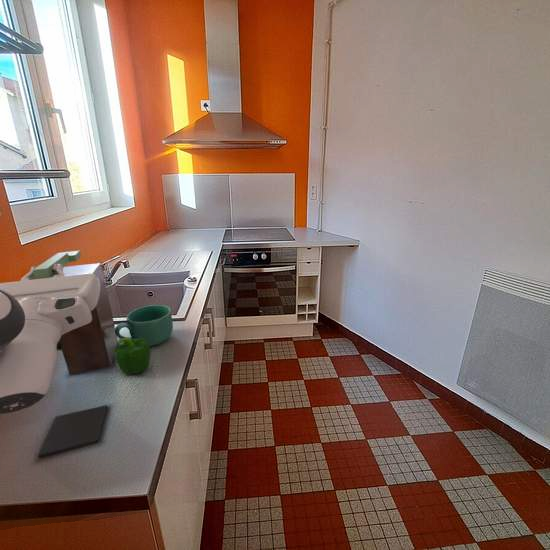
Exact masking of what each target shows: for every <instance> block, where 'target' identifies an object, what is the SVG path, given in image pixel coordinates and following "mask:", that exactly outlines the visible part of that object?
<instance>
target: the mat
mask: <svg viewBox="0 0 550 550" xmlns="http://www.w3.org/2000/svg"><path fill="white" fill-rule="evenodd" d="M107 410H108V405H107V404H106V405H101V406H96V407H93V408H89V409H84V410H79V411H75V412H71V413H67V414H62V415H58V416H55V418H54V419H53V422H52V425H51V427H50V429H49V431H48V433H47V435H46V437H45V439H44V442H43V444H42V446H41V448H40V451H39V452H38V455H37V457H38V458H43V457H47V456H50V455H54V454H58V453H62V452H67V451H69V450H73V449H77V448H81V447H85V446H89V445H92V444H96V443H99V441H100V438H101V434H102V429H103V426H104V421H105V418H106V414H107Z"/></svg>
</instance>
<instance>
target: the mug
mask: <svg viewBox="0 0 550 550" xmlns="http://www.w3.org/2000/svg"><path fill="white" fill-rule="evenodd" d="M173 324H174V323H173V316H172V310H171V308H170V307H169V306H168V305H164V304H163V305H162V304H151V305H145V306H142V307H138V308H135V309H134V310H132V311H130V312H129V313H128V314H127V315H126V322H120V323H119V324H117V325H116V326H115V334H116V336H117V338H118V339H119V340H120V339H122V338H128V339H137V338H140V337H142V338H143V339H144V340H145V341H146V342H147V343H148V344H149V347H151V346H157V345H159V344H161V343H163V342H165V341H166V340H167V339H168V338H170V337H171V335H172V333H173V330H174V325H173ZM123 328H126V329H127V330H128V331H129V335H130V337H128V336H124V335H122V334H121V333H120V331H121V330H122V329H123Z"/></svg>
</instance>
